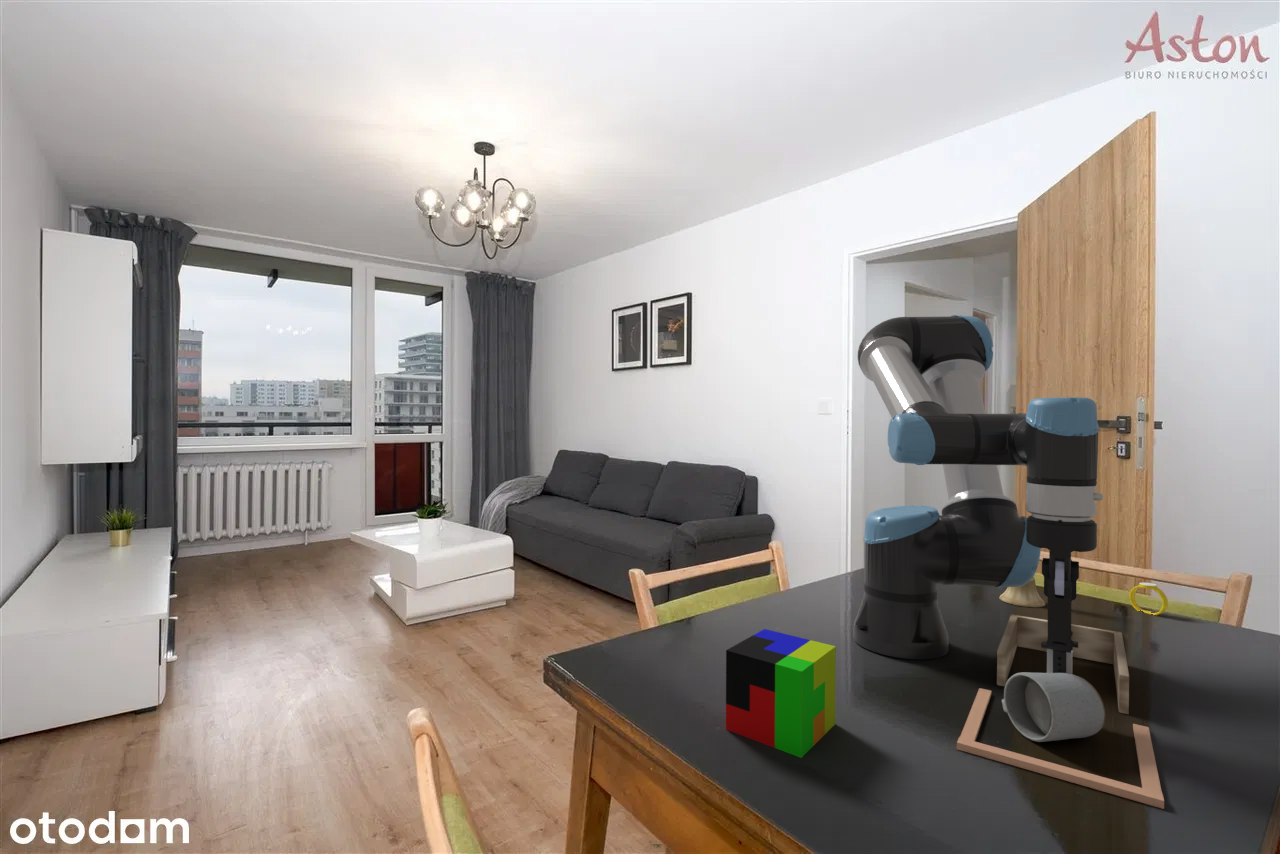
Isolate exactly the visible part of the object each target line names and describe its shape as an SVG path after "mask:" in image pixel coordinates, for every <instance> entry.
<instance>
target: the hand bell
mask: <svg viewBox="0 0 1280 854" xmlns="http://www.w3.org/2000/svg"><path fill="white" fill-rule="evenodd" d="M998 598H999V600H1000V601H1001V602H1004V603H1007V604H1010V605H1014V606H1019V607H1023V608H1025V607H1027V608H1042V607H1046V602H1045V601H1044V599H1042V598H1041V596H1040V595H1039V593H1038V590H1037V585H1036V579H1035V577H1034V576H1033V578H1032V579H1031V580H1030V581H1029V582H1028V583H1027V584H1025V585H1023V586H1020V587H1006V590H1005V591H1004V592H1003V593H1002V594H1000V596H999V597H998Z"/></svg>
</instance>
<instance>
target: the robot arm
mask: <svg viewBox="0 0 1280 854" xmlns="http://www.w3.org/2000/svg"><path fill="white" fill-rule="evenodd" d="M993 347H994V342H993V338H992V334H991V331H990V328H989V327H988V325H987V324H986V323H985V321H984V320H982V319H981V318H980V317H976V316H974V315H973V316H972V315H961V314H954V315H950V316H898V317H897V316H896V317H893V318H890V319H885V320H884V321H882V322H880V323H878V324H877V325H875V326H874V327H872V328H871V329H870V330H869V331H868V332H867V333H866V334H865V335H864V337H863V338H862V340H861V342H860V343H859V346H858V350H857V361H858V362H857V363H858V366H859V369H860V370H861V372H862V374H863V375H864V377H866V379H868V380H869V381H871V382H873V384H874V386H875V387H876V390H877V391H878V394H879V395H880V397H881V399H882V401H883V403H884V405H885V407H886V409H887V412H888V413H889V415H890V418H891V419H890V421H889V424H888V428H887V445H888V448H889V449H888V452H889V455H890V457H891V458H892V460H893V461H895V462H897V463H899V464H910V465H911V464H912V465H913V464H914V465H917V466H926V465H942V468H943V474H944V478H945V479H944V480H945V484H946V485H945V486H946V492H947V497H948V502H946V503H945V505H944V506H943V507H942V508H941V515H940V513H939V511H938V508H936V507H935V506H929V505H899V506H897V505H896V506H891V507H885V508H880V509H877V510H874V511H872V512H870V513H869V514H868V515H867V517H866V518H865V520H864V521H865V523H864V533H863V538H862V540H863V542H864V543H863V545H864V549H863V551H864V552H863V553H864V555H863V556H864V558H863V559H864V560H863V561H864V562H863V563H864V564H863V565H864V566H863V568H864V569H863V571H864V572H863V573H864V574H863V575H864V577H863V580H864V582H863V585H864V586H863V596H862V599H861V602H860V605H859V607H858V608H859V609H858V611H857V614H856V617H855V619H854V622H853V627H852V638H853V640H854V642H855V643H856V644H857V645H859V646H860V647H862V648H864V649H867V650H868V651H871V652H874V653H876V654H880V655H883V656H888V657H893V658H899V659H906V660H907V659H908V660H931V659H936V658H941V657H943V656H945V655H947V654H948V652H949V650H950V649H949V644H950V643H949V642H950V641H949V639H950V638H949V633H948V630H947V627H946V625H945V622H944V619H943V615H942V613H941V612H942V611H941V609H940V607H939V604H938V588H939V587H938V586H939V585H943V586H944V585H945V586H965V587H966V586H967V587H969V586H970V587H987V588H988V587H989V588H990V587H992V588H995V589H1001V588H1008V587H1020V586H1023V585H1025V584H1027V583H1028V582H1029V581H1030V580H1031V579H1032V578H1033V577H1034V576H1035V574H1036V572H1037V570H1038V565H1039V564H1040V559H1041V549H1047V550H1048V551H1049V554H1048V556H1049V558H1048V557H1042V561H1041V574H1042V576H1043V594H1044V596H1045V597H1047V620H1048V640H1047V642H1041V648H1047V652H1046V673H1067V674H1072V675H1073V657H1072V656H1073V647H1075V648H1078V642H1076V641H1073V640H1072V639H1071V637H1072V635H1073V632H1072V631H1071V624H1072V601H1075V600H1076V599H1077V581H1078V580H1079V578H1080V562H1079V561H1075V560H1072V552H1073V553H1074V552H1079V553H1088V552H1092V551H1094V550H1096V549H1097V545H1098V544H1097V543H1098V542H1097V540H1098V532H1097V531H1098V523H1097V522H1096V521H1095V520H1094V519H1091V518H1094V517H1096V515H1097V503H1096V501H1102V500H1104V496H1103V495H1104V494H1103V493H1101V492H1096V491H1097V483H1098V482H1097V481H1098V459H1099V458H1098V456H1099V455H1098V454H1099V453H1098V452H1099V432H1100V425H1099V423H1098V410H1097V409H1098V408H1097V407H1098V406H1097V403H1096V401H1094V400H1093V399H1092V398H1089V397H1081V396H1080V397H1079V396H1078V397H1077V396H1076V397H1071V396H1069V397H1067V396H1065V397H1064V396H1063V397H1061V396H1060V397H1037V398H1033V399H1031V400H1030V401H1029V402H1028V404H1027V411H1026V413H1024V412H1023V413H1022V412H1019V413H1016V412H1015V413H1013V412H1011V413H986V408H985V404H984V401H983V396H982V393H981V387H980V382H981V381H982V380H983V378H984V377H985V376H986V372H987V371H988V369H990V367H991V364H992V361H993V357H994V351H993ZM998 466H1023V467H1026V482H1025V505H1026V507H1025V509H1026V511H1027V513H1030V514H1031V515H1029V516H1027V517H1026V516H1024V515H1020V514H1019V511H1018V507H1017V503H1016V502H1015V501H1014V500H1013V499H1011V498H1009V497H1008V496H1006V495H1005V494H1004V492H1003V486H1002V483H1001V477H1000V473H999V469H998Z"/></svg>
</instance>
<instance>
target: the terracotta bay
mask: <svg viewBox="0 0 1280 854" xmlns="http://www.w3.org/2000/svg"><path fill="white" fill-rule="evenodd" d="M992 692H993V691H992V690H990V689H985V688H981V687H980V688H978V691H977V693H976V696H975V697H974V701H973V704H972V705H971V709H970V711H969V713H968V716H967V719H966V721H965V723H964V726H963V728H962V731H961V734H960V736H959V737H958V738H957V741H956V750H959V751H962V752H966V753H969V754H972V755H976V756H979V757H983V758H985V759H989V760H992V761H997V762H1000V763H1004V764H1006V765H1010V766H1013V767H1017V768H1021V769H1024V770H1027V771H1032V772H1034V773H1038V774H1041V775H1045V776H1048V777H1052V778H1056V779H1060V780H1062V781H1065V782H1069V783H1072V784H1077V785H1080V786H1083V787H1087V788H1091V789H1093V790H1096V791H1100V792H1104V793H1108V794H1109V795H1110V794H1111V795H1114V796H1117V797H1122V798H1124V799H1127V800H1132V801H1136V802H1139V803H1143V804H1145V805H1148V806H1152V807H1155V808H1160V809H1161V810H1162V809H1163V810H1164V809H1165V799H1164V794H1163V792H1162V788H1161V783H1160V777H1159V773H1158V768H1157V767H1158V766H1157V763H1156V756H1155V752H1154V749H1153V747H1154V746H1153V743H1152V738H1151V732H1150V727H1149V726H1144V725H1140V724H1137V723H1132V729H1133V736H1134V737H1133V738H1134V742H1135V743H1134V744H1135V750H1136V755H1137V762H1138V763H1137V764H1138V769H1139V775H1140V782H1141V784H1140V785H1141V787H1140V786H1137V785H1133V784H1129V783H1125V782H1122V781H1119V780H1115V779H1112V778H1108V777H1104V776H1100V775H1097V774H1093V773H1090V772H1086V771H1083V770H1079V769H1076V768H1073V767H1068V766H1066V765H1065V766H1064V765H1061V764H1058V763H1054V762H1050V761H1047V760H1043V759H1039V758H1035V757H1032V756H1029V755H1025V754H1022V753H1018V752H1014V751H1012V750H1011V751H1010V750H1007V749H1003V748H1000V747H997V746H994V745H993V746H992V745H989V744H985V743H981V742H978V741H976V740H977V737H978V735H979V731H980V729H981V726H982V723H983V720H984V716H985V714H986V711H987V708H988V706H989V703H990V699H991V698H992Z"/></svg>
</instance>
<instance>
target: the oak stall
mask: <svg viewBox="0 0 1280 854" xmlns="http://www.w3.org/2000/svg"><path fill="white" fill-rule="evenodd" d="M1071 631H1072V632H1073V635H1072V637H1071V639H1072V640H1073V641H1076V642H1078V648H1075V647H1073V656H1072V658H1076V659H1077V658H1078V659H1083V660H1084V659H1085V660H1089V661H1093V662H1098V663H1104V664H1110V665H1113V670H1114V671H1113V672H1114V678H1115V680H1114V682H1115V689H1116V699H1117V707H1118V713H1120V714H1125V715H1130V714H1129V712H1130V711H1129V710H1130V708H1129V707H1130V673H1129V668H1128V667H1129V666H1128V662H1127V661H1128V660H1127V656H1126V650H1125V644H1124V639H1123V632H1121V631H1116V630H1109V629H1105V628H1104V629H1102V628H1097V627H1092V626H1084V625H1080V624H1079V625H1078V624H1072V623H1071ZM1047 640H1048V619H1043V618H1037V617H1036V618H1035V617H1030V616H1023V615H1019V614H1018V615H1017V614H1010V616H1009V619H1008V622H1007V624H1006V627H1005V629H1004V633H1003V634H1002V637H1001V640H1000V643H999V645H998V648H997V651H996V654H997V655H996V656H997V657H996V664H997V665H996V685H997V686H999V687H1004V688H1005V685H1006V683H1007V681H1008V679H1009V678H1008V677H1009V675H1010V674H1009V673H1010V671H1011V668H1012V664H1013V661H1014V658H1015V654H1016V651H1017V647H1019V648H1025V649H1030V650H1036V651H1041V652H1046V653H1047V648H1041V642H1047Z"/></svg>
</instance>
